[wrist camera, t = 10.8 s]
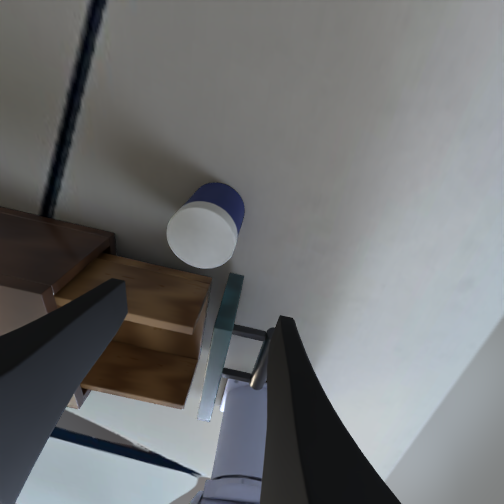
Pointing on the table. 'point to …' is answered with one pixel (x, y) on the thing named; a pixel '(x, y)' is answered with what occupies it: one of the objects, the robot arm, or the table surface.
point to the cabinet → (42, 267)
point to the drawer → (165, 334)
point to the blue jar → (207, 226)
